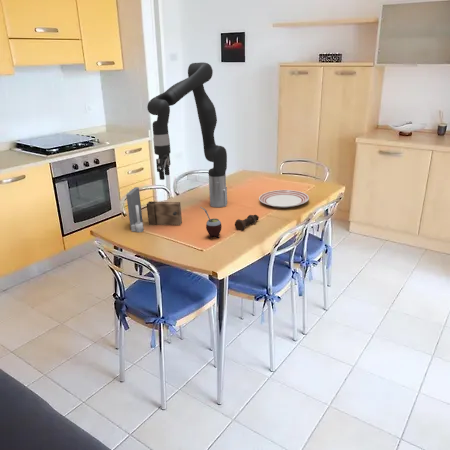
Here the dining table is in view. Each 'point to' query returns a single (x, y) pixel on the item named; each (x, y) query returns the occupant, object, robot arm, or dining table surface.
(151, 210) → the door
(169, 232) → the dining table surface
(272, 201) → the dinner plate
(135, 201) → the cabinet side
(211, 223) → the mate gourd
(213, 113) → the robot arm
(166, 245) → the dining table surface
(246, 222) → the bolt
